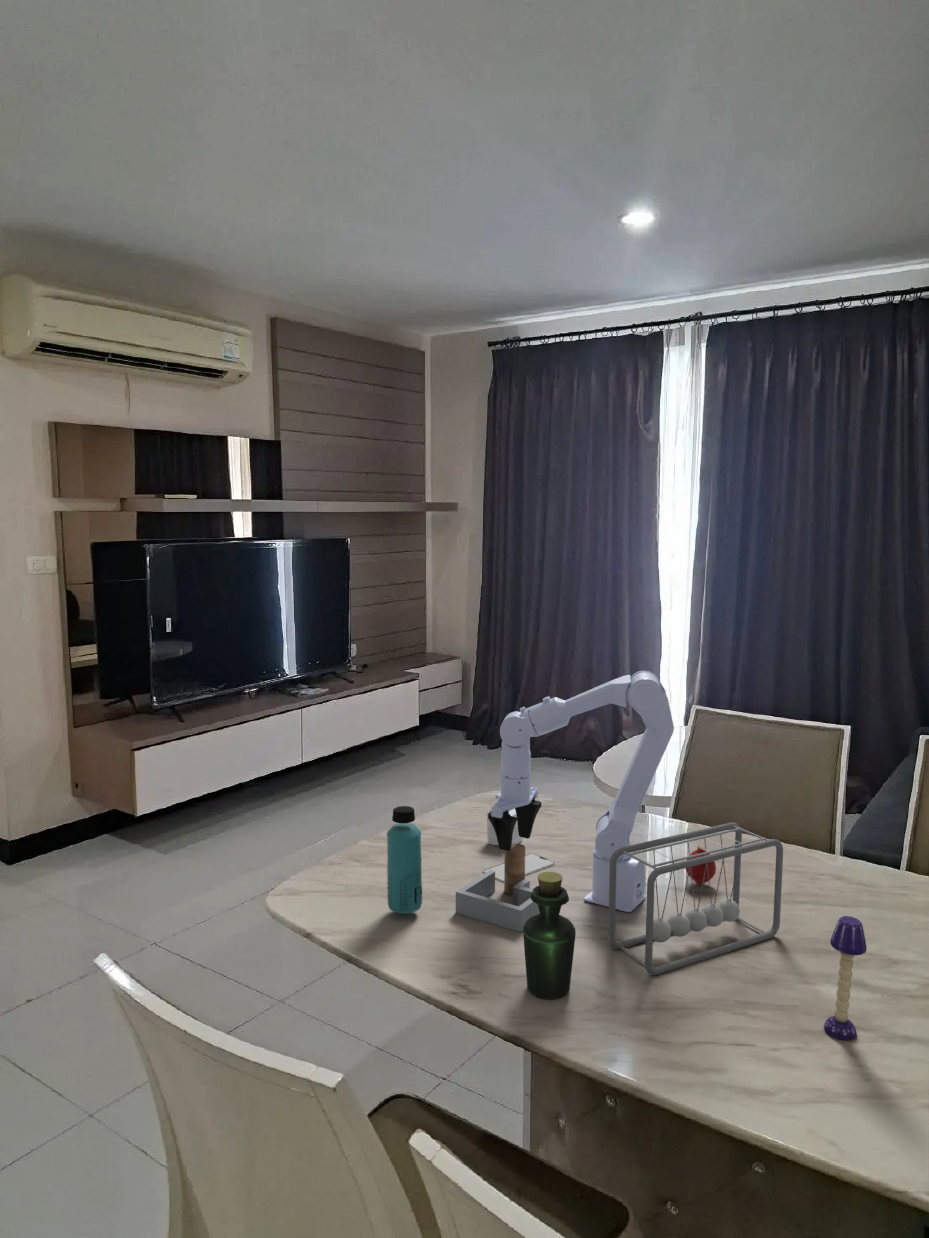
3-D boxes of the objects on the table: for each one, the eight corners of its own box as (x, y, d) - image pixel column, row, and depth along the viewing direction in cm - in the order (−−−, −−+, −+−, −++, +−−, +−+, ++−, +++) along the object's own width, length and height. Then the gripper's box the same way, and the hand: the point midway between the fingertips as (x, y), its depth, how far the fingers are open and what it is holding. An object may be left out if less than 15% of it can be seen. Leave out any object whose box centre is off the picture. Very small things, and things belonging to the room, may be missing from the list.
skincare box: (523, 840, 194) (523, 809, 193) (510, 849, 189) (510, 816, 188) (499, 835, 197) (500, 804, 196) (486, 843, 192) (486, 811, 191)
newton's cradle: (647, 979, 135) (650, 871, 133) (606, 950, 144) (608, 849, 142) (780, 936, 149) (785, 837, 148) (735, 912, 159) (739, 819, 157)
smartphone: (480, 871, 176) (532, 852, 186) (480, 874, 177) (532, 855, 186) (504, 882, 171) (557, 862, 180) (504, 885, 171) (556, 865, 181)
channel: (552, 907, 160) (552, 886, 160) (520, 932, 150) (521, 910, 150) (489, 889, 168) (489, 870, 167) (455, 912, 158) (455, 891, 157)
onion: (712, 879, 173) (713, 840, 172) (717, 891, 167) (719, 851, 167) (682, 877, 174) (684, 839, 173) (687, 889, 168) (688, 850, 167)
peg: (528, 890, 168) (529, 846, 167) (518, 897, 164) (518, 852, 163) (510, 885, 170) (511, 841, 169) (500, 892, 166) (500, 848, 165)
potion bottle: (541, 969, 138) (542, 861, 136) (584, 986, 133) (587, 875, 131) (511, 990, 132) (512, 878, 130) (555, 1009, 126) (557, 892, 124)
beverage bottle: (417, 923, 154) (417, 815, 151) (382, 919, 155) (381, 812, 153) (426, 907, 160) (426, 803, 158) (392, 904, 161) (391, 801, 159)
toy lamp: (851, 1022, 123) (857, 911, 122) (867, 1041, 119) (874, 927, 117) (818, 1023, 123) (824, 912, 121) (833, 1042, 119) (839, 927, 117)
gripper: (516, 762, 173) (515, 828, 174) (477, 780, 161) (477, 850, 162) (547, 768, 169) (546, 835, 170) (510, 787, 157) (509, 858, 158)
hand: (514, 843), depth 166 cm, fingers open, 7 cm apart
